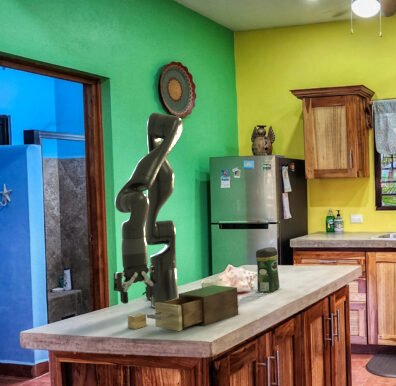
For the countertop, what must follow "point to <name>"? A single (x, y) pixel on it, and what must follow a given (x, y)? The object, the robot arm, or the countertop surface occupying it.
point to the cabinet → (215, 302)
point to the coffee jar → (267, 269)
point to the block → (136, 320)
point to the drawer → (178, 313)
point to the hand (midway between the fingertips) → (137, 300)
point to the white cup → (212, 282)
